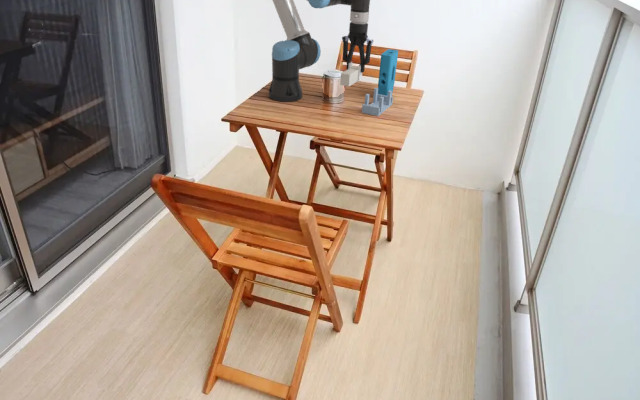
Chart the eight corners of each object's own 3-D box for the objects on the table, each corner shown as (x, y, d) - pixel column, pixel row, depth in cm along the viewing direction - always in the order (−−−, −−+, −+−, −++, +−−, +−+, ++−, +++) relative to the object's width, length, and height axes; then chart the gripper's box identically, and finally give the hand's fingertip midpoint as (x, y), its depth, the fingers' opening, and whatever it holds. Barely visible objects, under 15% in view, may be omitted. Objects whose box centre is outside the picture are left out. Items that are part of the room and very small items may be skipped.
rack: (378, 116, 200) (380, 99, 197) (361, 112, 203) (363, 96, 200) (392, 104, 214) (394, 89, 210) (376, 101, 216) (377, 86, 213)
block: (386, 101, 218) (391, 56, 207) (376, 99, 219) (380, 54, 209) (393, 93, 227) (398, 50, 217) (383, 92, 229) (388, 49, 219)
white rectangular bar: (348, 86, 201) (349, 74, 198) (340, 84, 203) (340, 73, 200) (361, 78, 211) (362, 67, 209) (353, 77, 213) (354, 65, 210)
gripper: (336, 21, 198) (333, 77, 210) (375, 26, 191) (369, 84, 203) (343, 18, 204) (340, 73, 215) (381, 23, 197) (376, 79, 209)
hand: (354, 78), depth 209 cm, fingers closed on white rectangular bar, 4 cm apart
